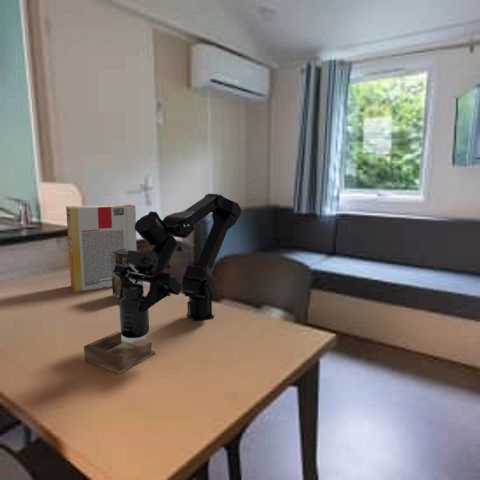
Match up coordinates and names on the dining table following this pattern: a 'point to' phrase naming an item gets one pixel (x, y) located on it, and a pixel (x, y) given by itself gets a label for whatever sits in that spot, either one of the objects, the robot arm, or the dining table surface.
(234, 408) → the dining table surface
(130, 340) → the mounting bracket
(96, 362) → the walnut well
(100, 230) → the pasta box
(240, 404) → the dining table surface
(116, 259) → the coffee box
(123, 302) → the supplement bottle
